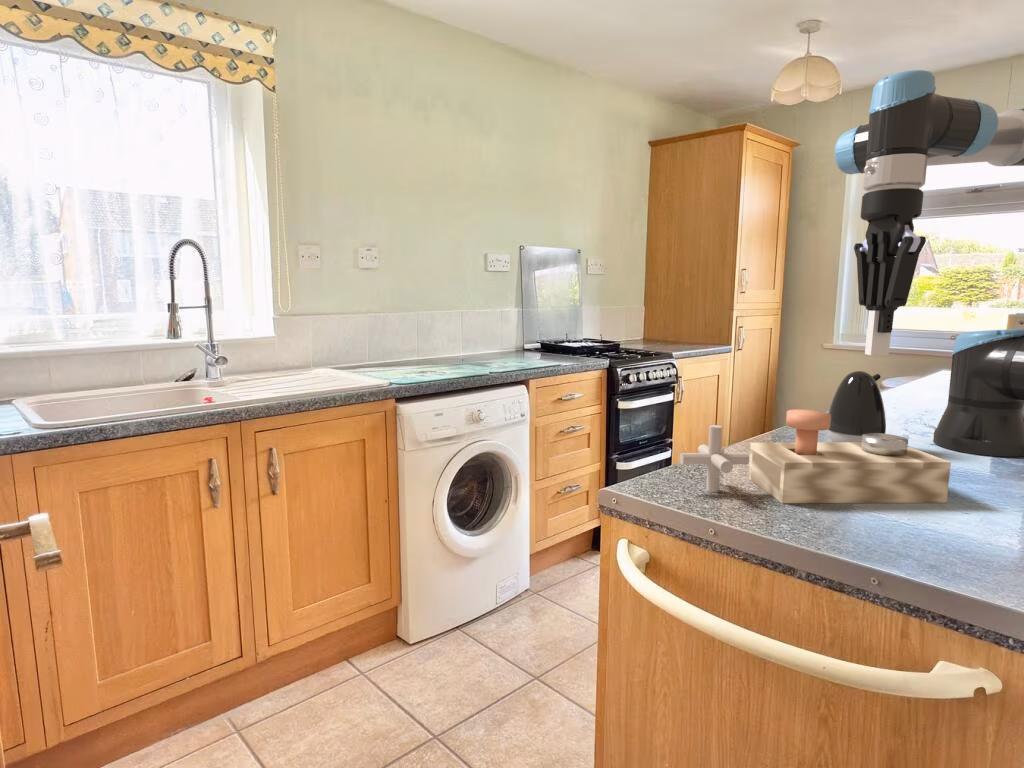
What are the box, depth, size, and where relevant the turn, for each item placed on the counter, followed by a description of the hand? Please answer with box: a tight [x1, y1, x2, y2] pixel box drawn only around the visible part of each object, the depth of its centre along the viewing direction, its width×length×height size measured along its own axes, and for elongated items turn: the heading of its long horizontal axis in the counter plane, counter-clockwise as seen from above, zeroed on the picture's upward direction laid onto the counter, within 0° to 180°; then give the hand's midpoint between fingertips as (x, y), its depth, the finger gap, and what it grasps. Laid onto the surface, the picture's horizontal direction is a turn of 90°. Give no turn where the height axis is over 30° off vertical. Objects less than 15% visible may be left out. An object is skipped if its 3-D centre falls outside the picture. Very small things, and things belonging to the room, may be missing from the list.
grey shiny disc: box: [861, 433, 909, 455], centre depth 94 cm, size 6×6×8 cm
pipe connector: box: [679, 424, 750, 493], centre depth 93 cm, size 10×10×10 cm
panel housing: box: [748, 441, 952, 504], centre depth 94 cm, size 24×12×6 cm, turn 91°
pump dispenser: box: [827, 370, 887, 442], centre depth 119 cm, size 10×10×15 cm
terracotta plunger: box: [785, 408, 831, 455], centre depth 93 cm, size 6×6×8 cm
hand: (876, 354), depth 91 cm, fingers closed
